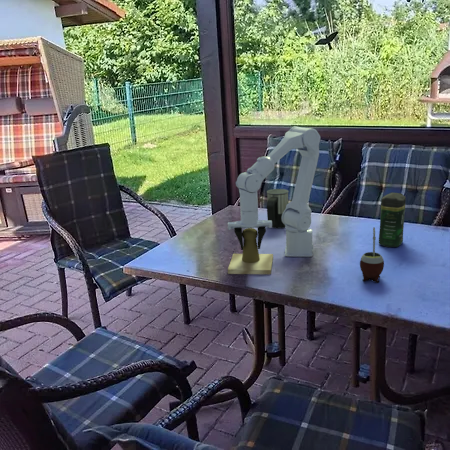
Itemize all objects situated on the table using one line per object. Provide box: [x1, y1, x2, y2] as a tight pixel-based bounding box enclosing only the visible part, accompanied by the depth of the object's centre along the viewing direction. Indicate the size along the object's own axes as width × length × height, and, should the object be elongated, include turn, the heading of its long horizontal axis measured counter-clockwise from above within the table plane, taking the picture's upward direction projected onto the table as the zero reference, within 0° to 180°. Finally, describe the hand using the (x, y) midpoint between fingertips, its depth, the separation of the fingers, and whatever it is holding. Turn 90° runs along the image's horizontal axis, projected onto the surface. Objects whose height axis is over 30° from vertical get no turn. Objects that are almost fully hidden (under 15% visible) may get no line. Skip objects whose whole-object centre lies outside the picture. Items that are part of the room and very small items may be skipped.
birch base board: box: [227, 253, 274, 275], centre depth 166 cm, size 14×14×2 cm
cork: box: [241, 228, 260, 263], centre depth 165 cm, size 6×6×11 cm
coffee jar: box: [378, 192, 407, 248], centre depth 176 cm, size 10×8×19 cm
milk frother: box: [266, 188, 290, 229], centre depth 200 cm, size 14×16×15 cm
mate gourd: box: [359, 227, 385, 284], centre depth 149 cm, size 8×8×15 cm
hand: (250, 248), depth 164 cm, fingers closed on cork, 5 cm apart
